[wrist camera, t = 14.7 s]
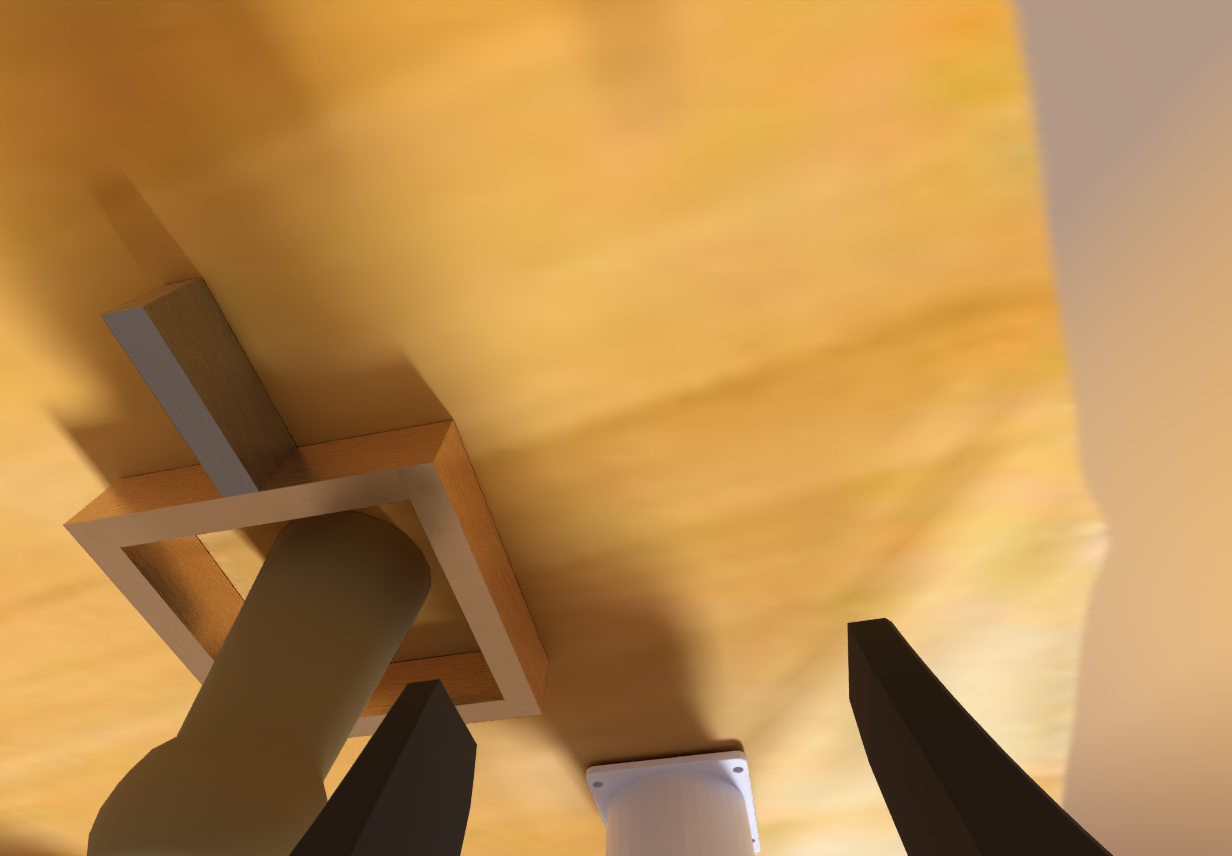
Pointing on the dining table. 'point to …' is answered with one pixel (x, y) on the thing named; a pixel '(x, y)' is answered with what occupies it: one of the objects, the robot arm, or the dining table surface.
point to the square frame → (294, 511)
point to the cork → (275, 698)
